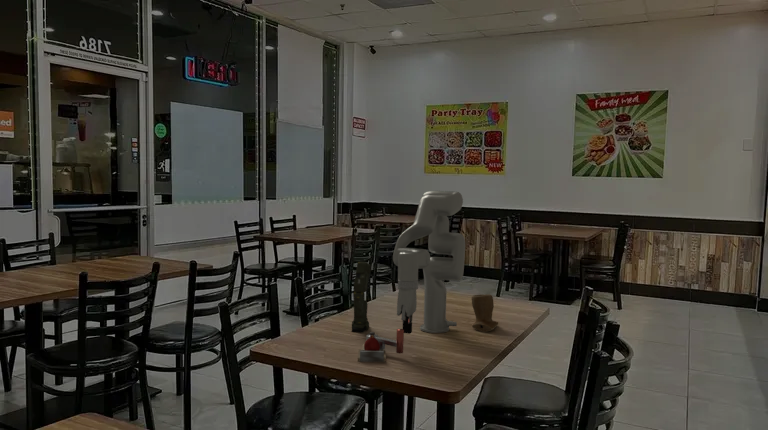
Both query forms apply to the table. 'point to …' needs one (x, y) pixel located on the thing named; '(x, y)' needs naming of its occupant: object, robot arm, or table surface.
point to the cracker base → (371, 354)
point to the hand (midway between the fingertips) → (407, 332)
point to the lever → (391, 341)
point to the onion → (372, 344)
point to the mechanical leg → (360, 297)
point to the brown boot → (483, 312)
